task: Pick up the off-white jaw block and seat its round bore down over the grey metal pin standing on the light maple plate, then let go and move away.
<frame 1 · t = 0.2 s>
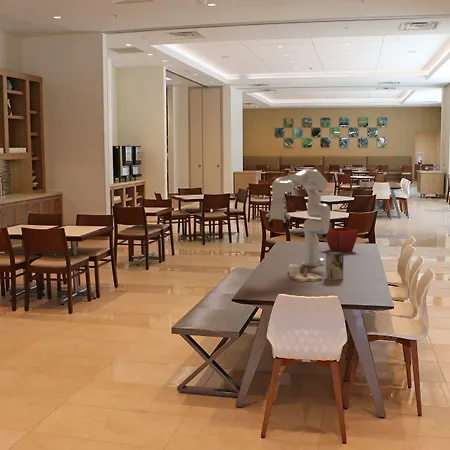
hand: (278, 228, 388), 30 cm above the table, tool pointing down, fingers open, 9 cm apart
jaw block: (294, 273, 400), on the table
pin plate: (305, 278, 385), on the table
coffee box: (334, 279, 384), on the table
plant pot: (340, 250, 482), on the table
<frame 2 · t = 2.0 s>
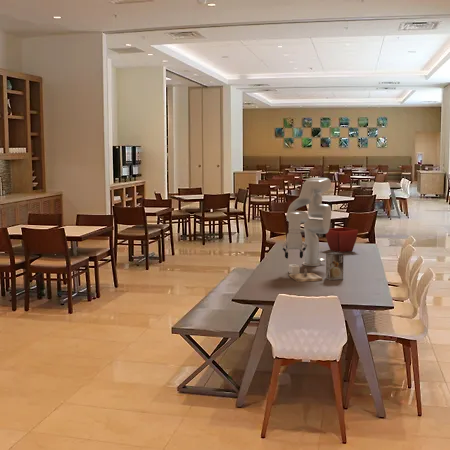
hand: (293, 258, 398), 10 cm above the table, tool pointing down, fingers open, 9 cm apart
nothing on the table moved.
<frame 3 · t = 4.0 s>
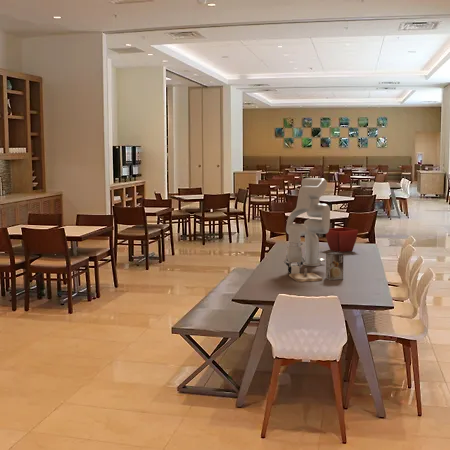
hand: (294, 272, 400), 1 cm above the table, tool pointing down, fingers closed on jaw block, 5 cm apart
jaw block: (294, 273, 400), on the table, touching gripper
everything else where it was.
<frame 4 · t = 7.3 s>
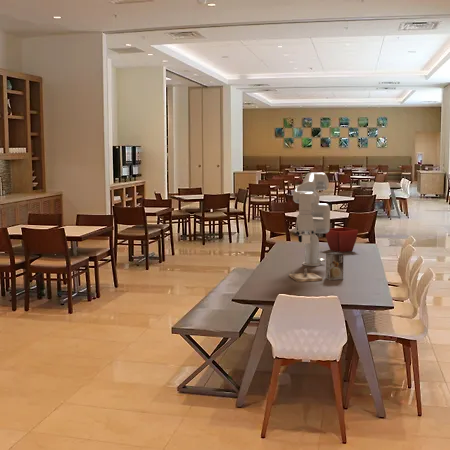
hand: (304, 241, 384), 23 cm above the table, tool pointing down, fingers closed on jaw block, 5 cm apart
jaw block: (304, 242, 384), point 22 cm above the table, touching gripper
everything else where it was.
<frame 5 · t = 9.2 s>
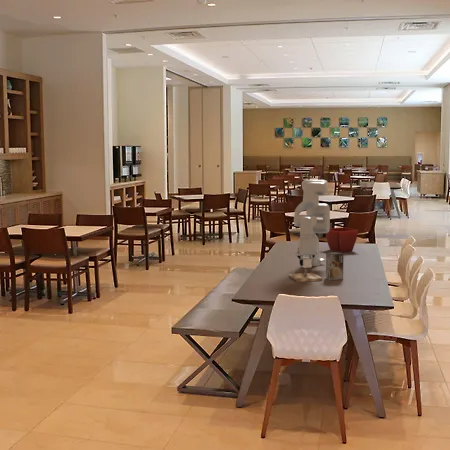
hand: (305, 265, 384), 8 cm above the table, tool pointing down, fingers closed on jaw block, 5 cm apart
jaw block: (305, 266, 384), point 8 cm above the table, touching gripper
everything else where it was.
when the fingers open (3 cm above the table, at t = 10.8 s): jaw block stays where it is, resting on pin plate.
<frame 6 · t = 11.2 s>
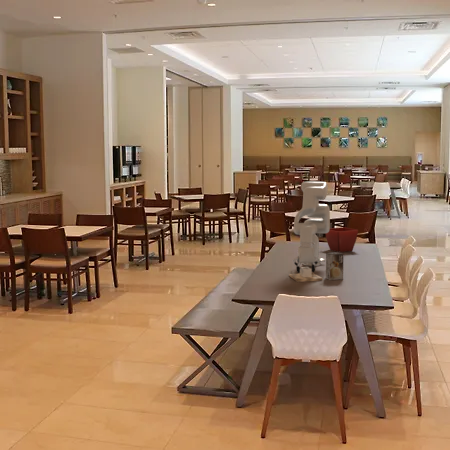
hand: (305, 272, 384), 4 cm above the table, tool pointing down, fingers open, 9 cm apart
jaw block: (305, 276, 385), point 1 cm above the table, touching pin plate
everything else where it was.
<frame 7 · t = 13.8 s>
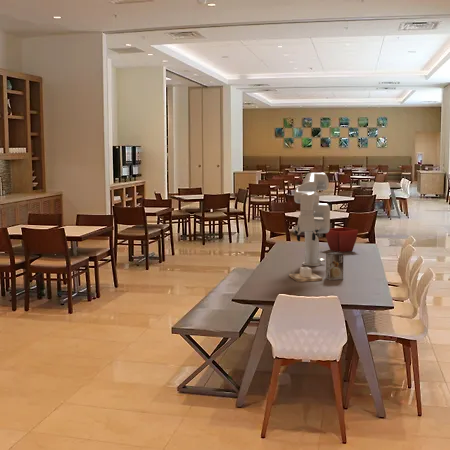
hand: (306, 240, 383), 24 cm above the table, tool pointing down, fingers open, 9 cm apart
nothing on the table moved.
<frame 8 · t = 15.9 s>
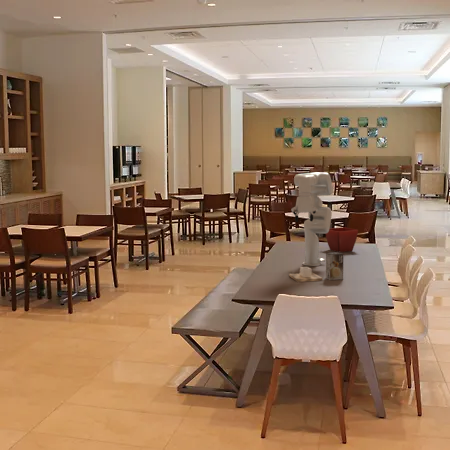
hand: (304, 221, 399), 33 cm above the table, tool pointing down, fingers open, 9 cm apart
nothing on the table moved.
at the end: jaw block 0.0 cm off-centre on the pin plate, point 1.5 cm above the pin plate's base; jaw block tilted 0°; the gripper is holding nothing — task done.
